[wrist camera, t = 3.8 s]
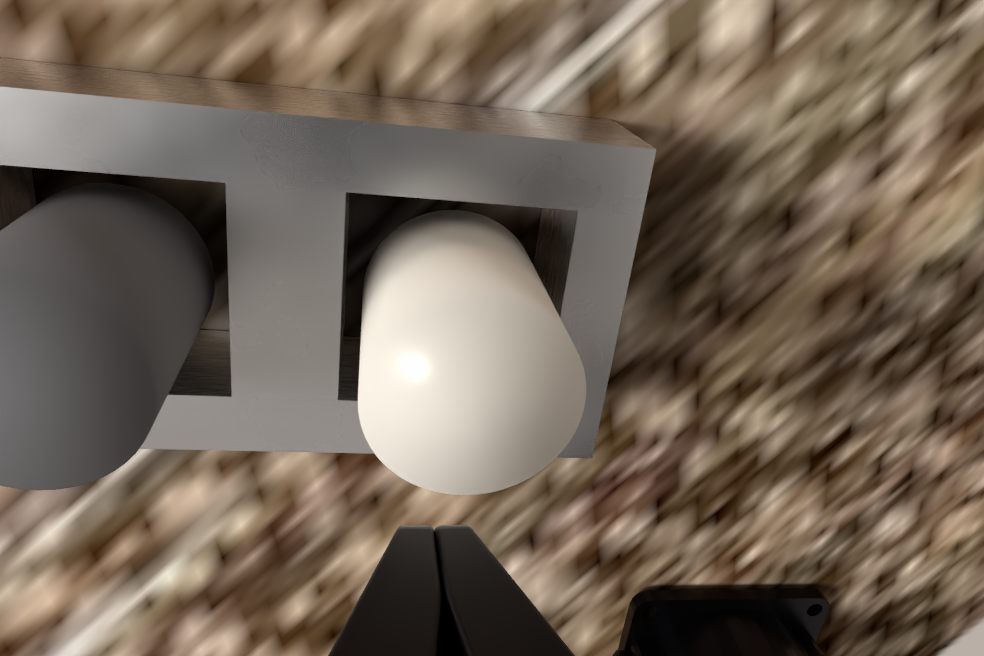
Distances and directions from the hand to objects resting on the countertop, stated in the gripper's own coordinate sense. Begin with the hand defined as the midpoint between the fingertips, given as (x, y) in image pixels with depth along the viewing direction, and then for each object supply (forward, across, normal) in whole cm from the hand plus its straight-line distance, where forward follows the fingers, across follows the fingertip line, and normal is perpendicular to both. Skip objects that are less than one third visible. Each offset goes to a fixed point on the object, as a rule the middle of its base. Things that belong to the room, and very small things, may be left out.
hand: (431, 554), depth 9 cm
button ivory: (+8, -1, 0) cm, 8 cm away
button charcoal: (+7, +6, 0) cm, 9 cm away
